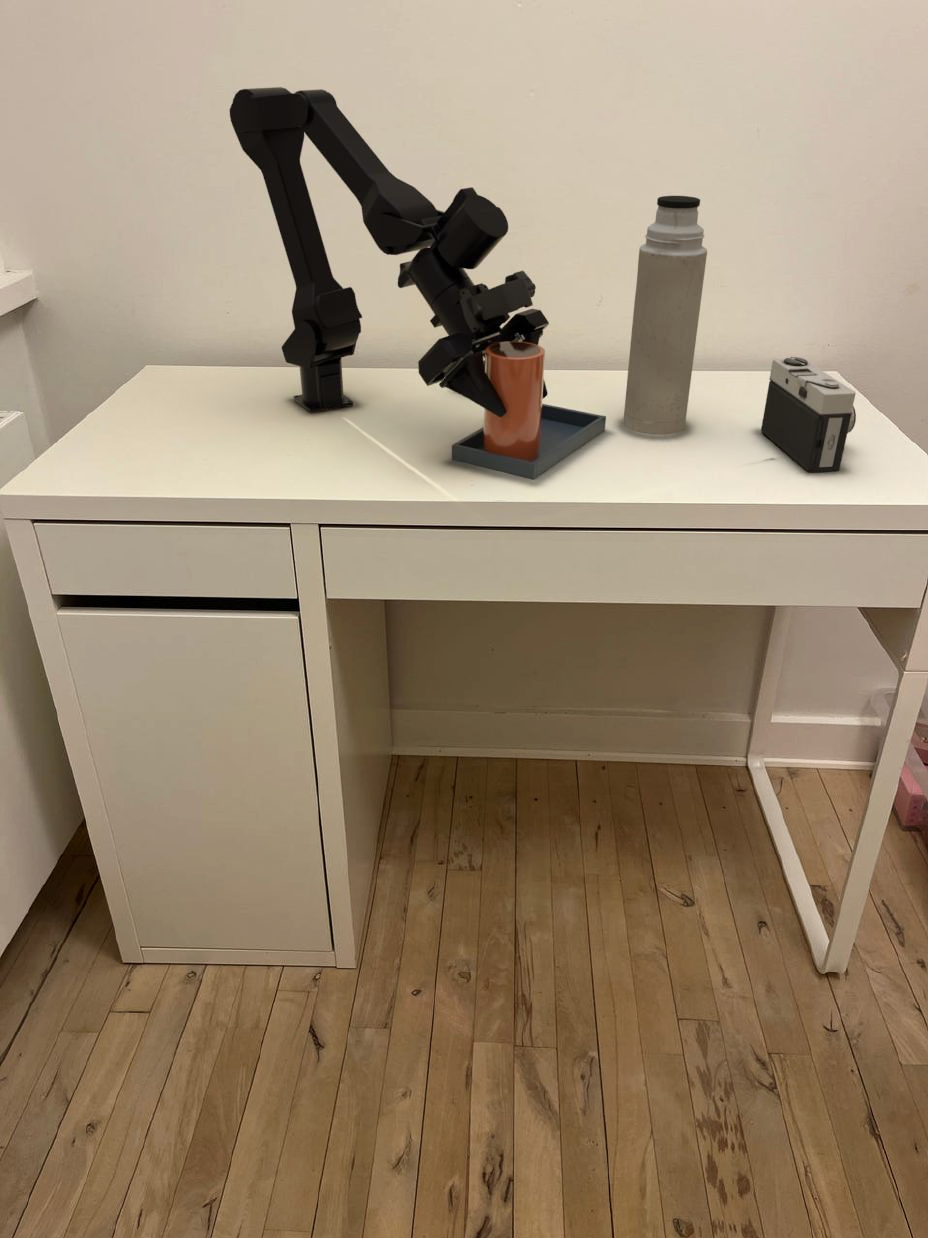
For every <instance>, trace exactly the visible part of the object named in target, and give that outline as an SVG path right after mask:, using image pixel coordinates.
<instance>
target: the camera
mask: <svg viewBox="0 0 928 1238" xmlns="http://www.w3.org/2000/svg"><path fill="white" fill-rule="evenodd" d="M768 380H769V383H768V387H767V393H766V399H765V405H764V410H763V417H762V422H761V427H760V431H761V433H762V434H764V435H765V436H766V437H767V439H769V440H771V441H772V442H773V443H774V444H775V445H776V446H778V447H779V448H780V449H781V450H782V451H784V452H785V454H787V455H788V456H790V457H791V458H792V459H793V460H794V461H796V462H797V463H798V464H799V465H800V466H802V467H803V468H804V469H805V470H806V471H807V472H809V473H823V472H839V471H840V469H841V464H842V459H843V455H844V451H845V446H846V441H847V436H848V434H849V433H851V432H852V431H853V429H854V428H855V425H856V421H857V414H856V408H855V406H854V402H855V400H856V399H855V398H856V394H857V393H856V391H855V390H853V389H852V388H851V387H848V386H847V385H845V384H844V383H843V382H840V381H839V380H838V379H836V378H834V377H832V376H831V375H830V374H828V373H827V372H825V371H824V370H822V369H820V368H819V367H817V366H815V365H814V364H812V363H811V362H809V361H808V360H807V359H805V358H802V357H797V356H796V357H795V356H791V357H786V358H774V359H772V363H771V369H770V375H769V379H768Z"/></svg>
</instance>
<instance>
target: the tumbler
mask: <svg viewBox="0 0 928 1238" xmlns="http://www.w3.org/2000/svg"><path fill="white" fill-rule="evenodd" d="M545 359H546V350H545V348H544V347H542V346H541V345H539V344H538V345H536V344H533V343H528V342H518V341H508V342H499V343H495V344H491V345H489V346H488V347H487V348H486V350H485V358H484V360H485V372H486V374H487V376H488V378H489V379H490V381H491V383H492V384H493V386H494V388H495V390H496V391H497V393H498V395H499V396H500V398H501V400H502V402H503V404H504V406H505V408H506V410H507V413H506V414H505V415H504V416H503V417H498V416H497V415H495V414H493V413H492V412H490V411H488V410H487V409H485V408H483V427H484V437H483V451H487V452H491V453H495V454H500V455H504V456H508V457H513V458H517V459H521V460H525V461H530V462H533V461H535V460H536V459H538V458H539V453H540V435H541V416H542V404H543V399H542V398H543V380H544V381H545V378H544V376H545Z"/></svg>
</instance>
